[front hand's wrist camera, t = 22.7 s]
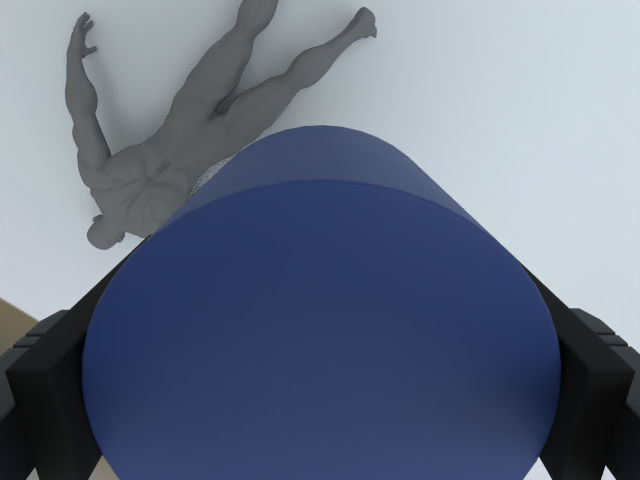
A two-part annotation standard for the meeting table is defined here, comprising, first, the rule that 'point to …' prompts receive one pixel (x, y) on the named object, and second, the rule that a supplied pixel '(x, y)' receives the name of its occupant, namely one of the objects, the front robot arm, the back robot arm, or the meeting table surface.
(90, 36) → the meeting table surface
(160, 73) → the meeting table surface
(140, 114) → the meeting table surface
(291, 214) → the can
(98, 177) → the figurine
